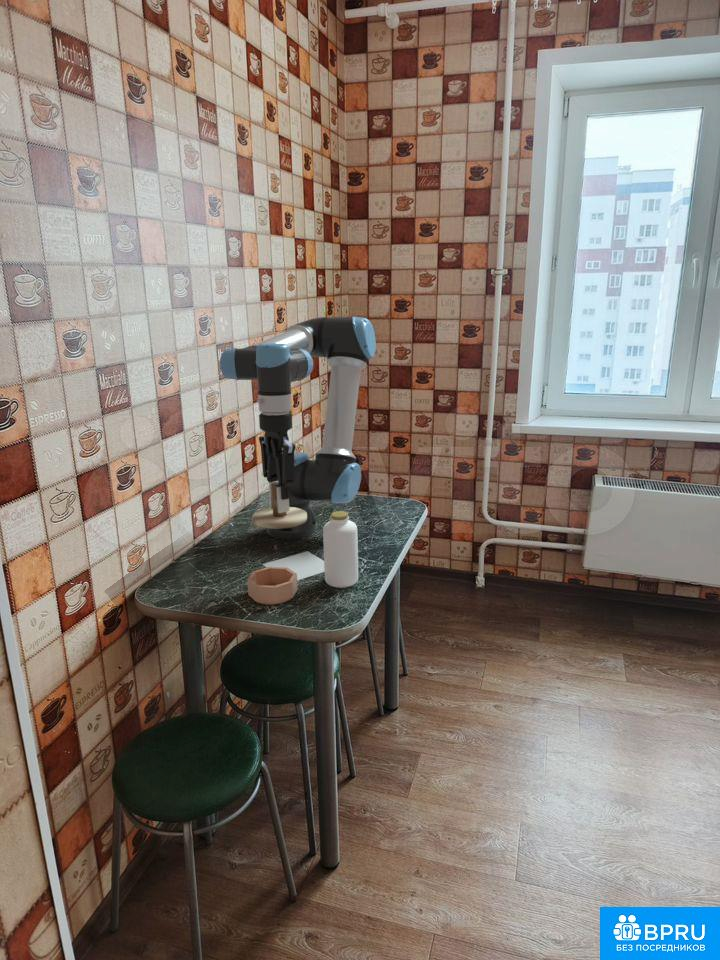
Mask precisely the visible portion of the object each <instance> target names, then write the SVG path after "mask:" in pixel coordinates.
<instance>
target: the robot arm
mask: <svg viewBox="0 0 720 960" xmlns="http://www.w3.org/2000/svg"><path fill="white" fill-rule="evenodd" d="M376 348H377V343H376V335H375V329H374V327H373V324H372V323H371V321H370V320H369V319H368V318H365V317H357V316H352V317H351V316H350V317H349V316H346V317H345V316H344V317H339V316H337V317H333V316H331V317H325V316H321V317H314V318H311V319H308V320H304V321H301V322H299V323H296V324H293V325H290V326H289V327H287V328H286V329H285V330H284V332H283V333H279V334H277V335H275V336H273V337H270V338H268V339H265V340H262V341H260V342H257V343H254V344H252V345H250V346H246V347H244V348H237V347H233V348H226V349H224V350H223V351H222V353H221V354H220V358H219V367H220V372H221V374H222V376H224V378H226V379H228V380H236V381H240V380H241V381H256V382H257V396H258V397H257V398H258V399H257V401H256V402H257V403H258V411H259V412H260V414H259V415H258V423H259V429H260V430H261V431H262V432H264V435H262V436H259V437H258V441H259V445H260V446H259V447H260V454H261V465H262V474H263V476H262V477H263V478H266V481H267V482H268V494H269V495H268V496H269V508H270V509H273V502H272V483H274V482H278V483H279V484H277V485H276V487H277V505H278V513H283V512H288V511H289V507H295V508H300V509H302V510H304V511H306V512H307V521H306V522H305V523H303V524H301V525H298V526H295V527H291V528H283V529H270V528H266V534H267V535H268V536H269V537H271V538H275V539H281V540H297V539H302V538H307V537H310V536H312V535H313V534H316V532H317V530H318V521H317V517H316V516H315V514H314V511H313V508H312V506H311V501H312V502H313V501H315V502H324V503H325V502H326V503H331V504H332V503H333V504H348V503H351V502H352V501H353V500H354V499H355V497H356V495H357V494H358V491H359V489H360V484H361V482H362V481H361V480H362V473H361V472H362V468H361V466H360V464H359V463H357V462H356V461H357V457H356V456H355V455H354V453H353V450H352V449H353V442H354V435H355V434H354V433H355V424H356V416H357V408H358V399H359V392H360V391H359V389H360V382H361V372H362V370H364V369H365V368H366V367H367V366H368V360H371V359H373V358H374V357H375V354H376V350H377V349H376ZM313 358H327V359H326V363H328V364H329V366H330V367H331V370H330V378H329V384H328V385H329V386H328V394H327V401H326V402H327V403H326V410H325V411H326V412H325V419H324V427H323V436H322V445H321V448H320V450H318V451H316V452H315V459H314V460H312V459H309V458H310V456H309V454H308V453H305V452H295V451H296V448H297V447H296V444H295V443H291V442H290V441H289V439H290V438H289V436H288V435H289V434H288V431H289V430H291V429H292V428H293V414H292V413H291V411H292V410H293V406H292V383H293V382H301V381H302V380H305V379H306V378H308V377H309V376H310V375H311V373H312V372H313V369H314V359H313Z"/></svg>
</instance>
